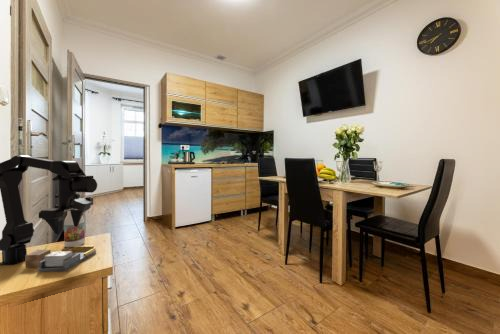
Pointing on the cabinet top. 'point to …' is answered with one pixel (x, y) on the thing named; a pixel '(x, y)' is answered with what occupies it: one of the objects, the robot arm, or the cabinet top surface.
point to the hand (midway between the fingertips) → (67, 229)
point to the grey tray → (70, 259)
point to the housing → (35, 258)
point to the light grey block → (57, 258)
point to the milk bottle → (73, 232)
